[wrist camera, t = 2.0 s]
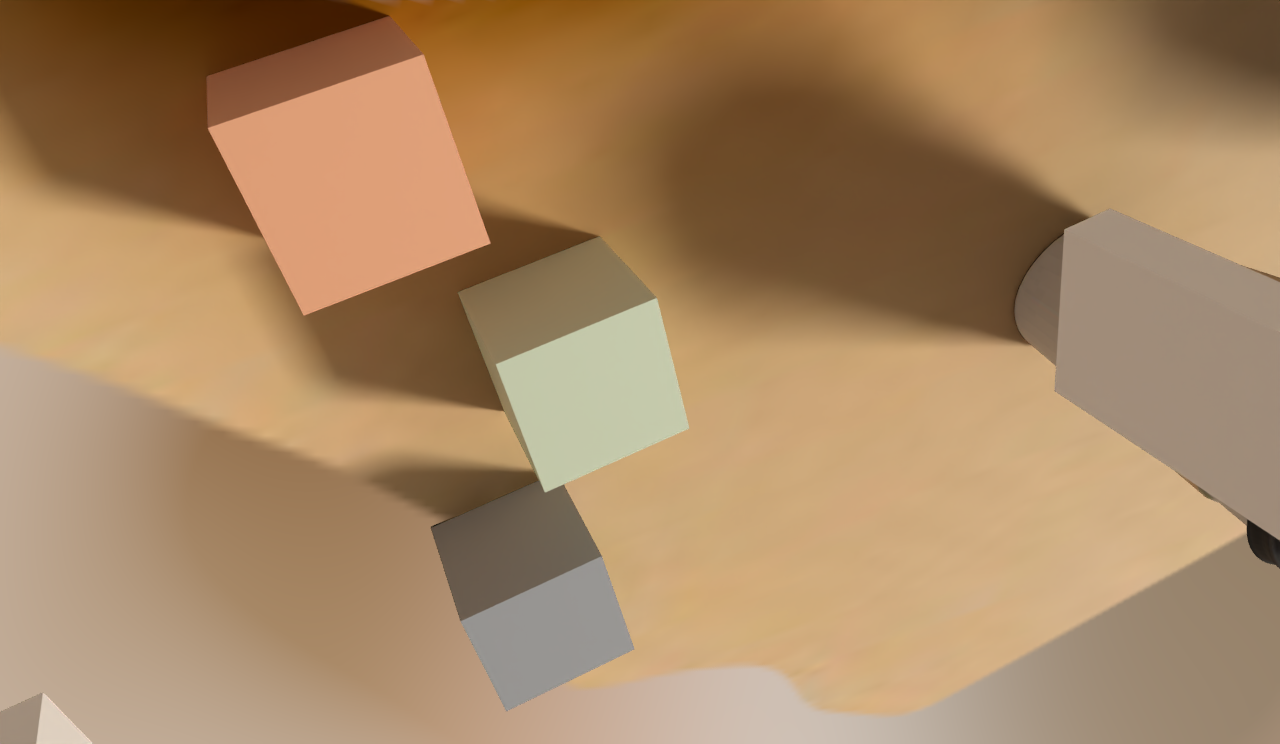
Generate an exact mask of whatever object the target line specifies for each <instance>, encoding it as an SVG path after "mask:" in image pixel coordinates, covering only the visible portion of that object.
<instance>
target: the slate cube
mask: <svg viewBox="0 0 1280 744" xmlns="http://www.w3.org/2000/svg"><path fill="white" fill-rule="evenodd" d="M431 530H432V533H433V536H434V539H435V542H436V545H437V549H438V552H439V555H440V558H441V561H442V564H443V568H444V571H445V574H446V577H447V580H448V583H449V586H450V590H451V592H452V596H453V599H454V602H455V605H456V608H457V612H458V615H459V618H460V621H461V623H462V625H463V627H464V629H465V631H466V633H467V635H468V637H469V638H470V640H471V643H472V645H473V647H474V649H475V651H476V652H477V655H478V656H479V658H480V660H481V662H482V664H483V666H484V668H485V670H486V672H487V674H488V676H489V678H490V680H491V682H492V684H493V686H494V688H495V690H496V692H497V694H498V696H499V698H500V700H501V702H502V704H503V705H504V707H505V709H506V711H508V710H510V709H512V708H514V707H516V706H518V705H521V704H523V703H525V702H527V701H529V700H531V699H533V698H535V697H537V696H539V695H541V694H543V693H545V692H547V691H549V690H551V689H553V688H556V687H558V686H560V685H562V684H564V683H566V682H568V681H570V680H572V679H574V678H576V677H578V676H580V675H582V674H584V673H586V672H589V671H591V670H593V669H595V668H597V667H599V666H601V665H603V664H605V663H607V662H609V661H611V660H613V659H615V658H617V657H619V656H621V655H624V654H626V653H628V652H630V651H632V650H634V646H633V643H632V641H631V638H630V635H629V632H628V629H627V626H626V624H625V621H624V618H623V615H622V612H621V609H620V607H619V604H618V601H617V598H616V595H615V592H614V589H613V587H612V584H611V581H610V578H609V575H608V572H607V570H606V567H605V564H604V561H603V558H602V556H601V554H600V552H599V550H598V548H597V546H596V544H595V542H594V541H593V539H592V537H591V535H590V533H589V531H588V529H587V527H586V526H585V524H584V522H583V520H582V518H581V516H580V514H579V512H578V511H577V509H576V507H575V505H574V503H573V501H572V499H571V497H570V496H569V494H568V492H567V490H566V488H565V486H564V484H563V485H561V486H559V487H557V488H554V489H552V490H550V491H548V492H544V490H543V488H542V486H541V484H540V482H539V481H537V482H534V483H532V484H530V485H527V486H525V487H523V488H521V489H518V490H516V491H514V492H512V493H509V494H507V495H505V496H503V497H500V498H498V499H496V500H493V501H491V502H489V503H487V504H484V505H482V506H480V507H478V508H475V509H473V510H471V511H468V512H466V513H464V514H462V515H459V516H457V517H455V518H453V519H450V520H448V521H446V522H445V521H442V522H440V523H438V524H436V525H433V526H431Z"/></svg>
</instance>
